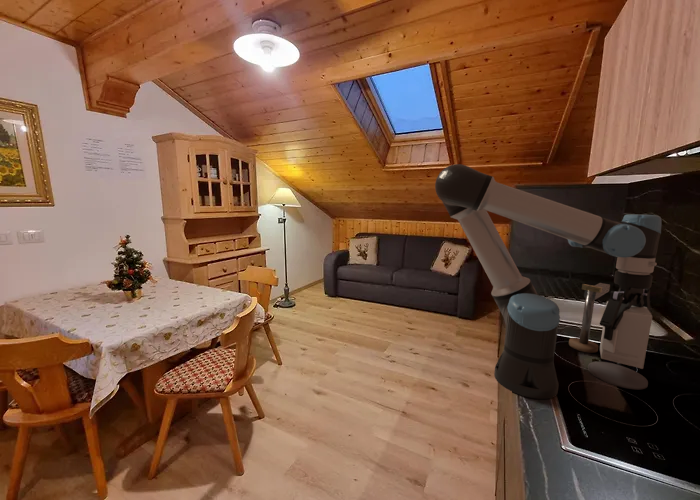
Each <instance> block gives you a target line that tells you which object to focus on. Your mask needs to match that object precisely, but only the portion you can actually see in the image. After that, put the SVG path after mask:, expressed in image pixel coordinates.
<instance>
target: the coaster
mask: <svg viewBox="0 0 700 500" xmlns="http://www.w3.org/2000/svg"><path fill="white" fill-rule="evenodd" d="M587 370H588V372H589V373H590V374H591V375H592V376H594V377H595V378H597V379H598V380H600V381H603V382H605V383H608V384H610V385H613V386H616V387H619V388H624V389H628V390H635V391H636V390H645V389H647V388H648V385H649V381H648V379H647V378H646V377H645V376H643V375H642V374H641V373H639V372H637V371H635V370H633V369H630V368H628V367H626V366H623V365H621V364H617V363H616V364H615V363H614V362H613V363H612V362H607V361H591V362H590V363H588V365H587Z"/></svg>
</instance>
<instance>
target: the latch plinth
mask: <svg viewBox="0 0 700 500" xmlns="http://www.w3.org/2000/svg"><path fill="white" fill-rule="evenodd" d="M579 340H580V337H571V338H569V340H568V345H569V347H571V348H572V349H574V350H577V351H579V352H583V353H584V352H585V353H591V354H595V353H598V351H599V345H598V344H597V343H595V342H594V341H592V340H589V341H588V344H583V343H580V342H579Z"/></svg>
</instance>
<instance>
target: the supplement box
mask: <svg viewBox="0 0 700 500" xmlns="http://www.w3.org/2000/svg"><path fill="white" fill-rule="evenodd" d="M608 301H609V300H606V304H605V305H606V306H607V303H608ZM606 306H605V307H606ZM652 320H653V315H652V312H651V313H650V312H649V310H648V309H647V307H641V308H640V307H636V306H631V307H630V309H627V310H626V311H624V313H623V317H622V319H621V321H620V322H619V324H618V326H617V328H616V329H618V334H617V340H616V346H615V352H614V353H612V352H610V351H607V350H605V349H602V343H603V336H604V329H605V327H604V326H602V332H601V336H600V337H601V339H600V345H599V353H600V359H602V360H606V361H610V362H613V363H616V364H617V363H618V364H620V365H627V366H629V367H634V368H638V369H641V370H643V369H644V365H645V359H646V353H647V349H648V343H649V337H650V333H651V326H652V322H653V321H652Z"/></svg>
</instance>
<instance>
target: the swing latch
mask: <svg viewBox="0 0 700 500" xmlns="http://www.w3.org/2000/svg"><path fill="white" fill-rule="evenodd" d="M610 289H611V284H610V283H609V284H608V283H602V282H599V283H597V284H595V285H591V284H585V283H582V284H581V290H584V294H583V299H584V298H585V299H584V300H585V301H584V307H583V316H582V321H581V328H580V335H579V338H580V340H579V342H580V343H583V344H588V341H590V340H589V339H590V334H591V327H592V321H593V320H592V319H593V313H594V307H595V306H594V305H595V300H597V299H599V298H600V297H602V296H604V295H605V294H607V293H610Z"/></svg>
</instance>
